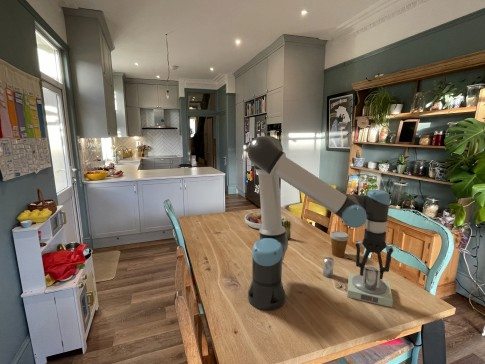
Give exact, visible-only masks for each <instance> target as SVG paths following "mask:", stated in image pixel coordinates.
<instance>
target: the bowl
mask: <svg viewBox="0 0 485 364" xmlns="http://www.w3.org/2000/svg"><path fill="white" fill-rule="evenodd" d="M281 219H282V220H283V226H284V221H287V220H286V216H285V215H283V214H281ZM244 222H245V224H246V225H247V226H248V227H250V228H252V229H256V230H260V228H261V227H262V215H261V210H260V211H254V212H253V211H252V212H249V213H247V214H246V215H245V216H244Z"/></svg>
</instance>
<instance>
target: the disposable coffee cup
mask: <svg viewBox="0 0 485 364" xmlns="http://www.w3.org/2000/svg"><path fill="white" fill-rule="evenodd" d="M329 236H330V242H331V254H332V256H334V257H337V258H343V257H345V255H346V248H347V244H348V242H349V241H348V240H349V238H350V236H349V234H348V233H347V232H345V231H340V230H334V231H331V233H330V235H329Z"/></svg>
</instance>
